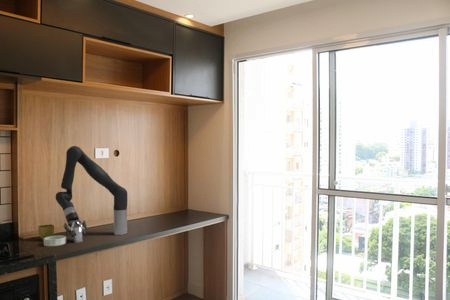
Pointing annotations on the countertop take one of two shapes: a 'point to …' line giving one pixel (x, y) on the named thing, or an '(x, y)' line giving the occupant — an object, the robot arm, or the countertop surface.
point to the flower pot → (46, 231)
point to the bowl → (55, 240)
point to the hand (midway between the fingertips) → (79, 235)
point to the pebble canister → (78, 234)
